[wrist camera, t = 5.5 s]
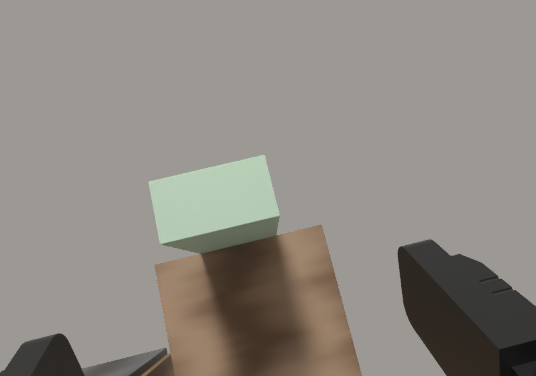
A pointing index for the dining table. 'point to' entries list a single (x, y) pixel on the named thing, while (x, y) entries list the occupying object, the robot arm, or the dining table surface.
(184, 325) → the walnut stand
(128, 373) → the oak block
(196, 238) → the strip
